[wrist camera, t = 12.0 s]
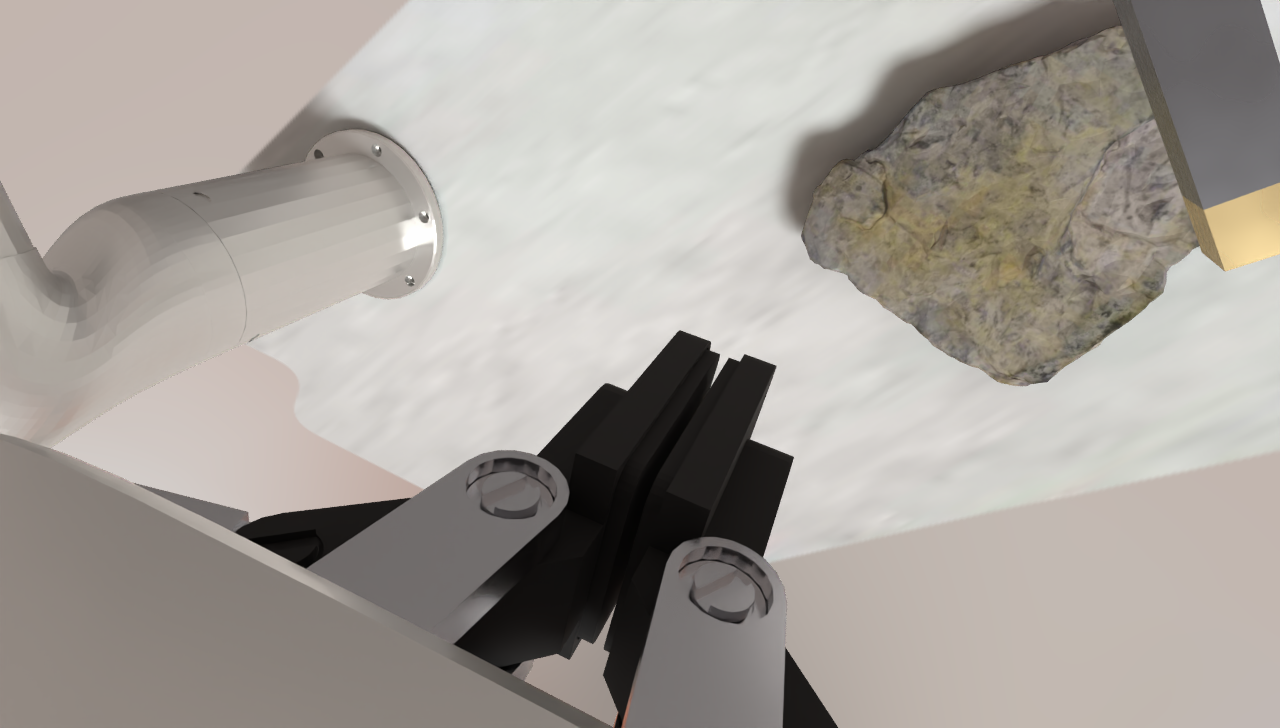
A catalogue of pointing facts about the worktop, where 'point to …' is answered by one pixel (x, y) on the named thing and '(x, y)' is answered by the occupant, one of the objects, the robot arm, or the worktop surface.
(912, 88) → the worktop surface
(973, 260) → the stone
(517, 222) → the worktop surface
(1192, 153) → the latch bar
